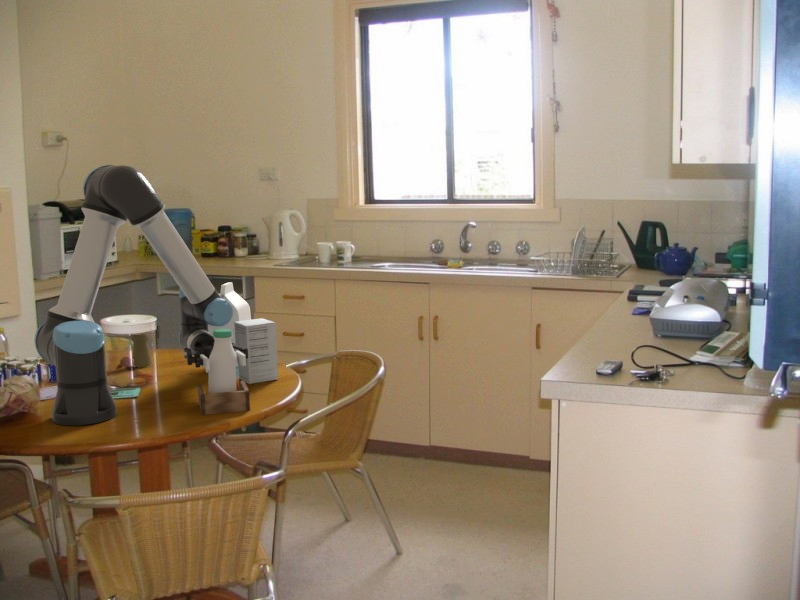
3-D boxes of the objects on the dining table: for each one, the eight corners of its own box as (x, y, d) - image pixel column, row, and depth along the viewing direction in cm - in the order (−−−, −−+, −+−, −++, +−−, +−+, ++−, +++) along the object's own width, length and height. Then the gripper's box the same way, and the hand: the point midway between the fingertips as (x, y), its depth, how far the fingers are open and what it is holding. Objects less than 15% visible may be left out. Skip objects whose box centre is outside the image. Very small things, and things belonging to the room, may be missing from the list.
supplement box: (279, 379, 257) (276, 322, 254) (249, 384, 252) (246, 326, 249) (265, 373, 265) (263, 317, 262) (236, 377, 260) (233, 321, 257)
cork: (129, 365, 278) (126, 330, 276) (147, 362, 281) (145, 328, 280) (136, 369, 273) (133, 333, 271) (155, 366, 277) (152, 331, 275)
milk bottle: (233, 411, 226) (230, 333, 223) (204, 409, 228) (201, 332, 225) (244, 403, 234) (242, 327, 231) (216, 401, 235) (214, 326, 232)
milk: (242, 373, 265) (238, 286, 261) (205, 372, 267) (201, 286, 263) (255, 364, 277) (251, 280, 273) (219, 363, 279) (215, 280, 275)
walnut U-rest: (201, 414, 223) (200, 395, 222) (198, 403, 234) (197, 384, 233) (250, 410, 227) (249, 391, 226) (245, 399, 237) (244, 380, 236)
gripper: (242, 355, 250) (267, 372, 230) (165, 364, 240) (184, 382, 220) (241, 328, 248) (266, 343, 228) (163, 336, 239) (182, 352, 219)
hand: (226, 362), depth 224 cm, fingers open, 8 cm apart
